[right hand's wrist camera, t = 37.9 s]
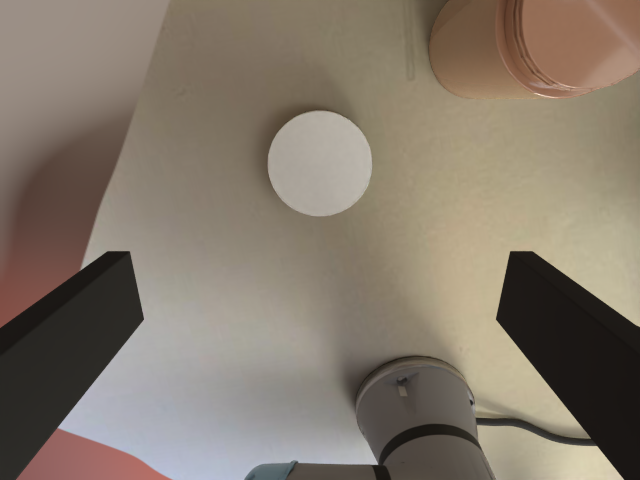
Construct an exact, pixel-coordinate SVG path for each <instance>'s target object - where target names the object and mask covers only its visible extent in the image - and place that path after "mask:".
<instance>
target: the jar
mask: <svg viewBox="0 0 640 480" xmlns="http://www.w3.org/2000/svg"><path fill="white" fill-rule="evenodd" d="M429 56H430V62H431V66H432V69H433V72H434V74H435V76H436V78H437V79H438V81H439V82H440V83H441V85H442V86H443V87H444V88H445V89H447V90H448V91H449V92H451V93H453V94H454V95H457V96H459V97H463V98H467V99H562V98H572V97H577V96H581V95H584V94H587V93H590V92H592V91H594V90H597V89H600V88H604V87H607V86H611V85H614V84H616V83H618V82H620V81H622V80H623V79H625V78H627V77H629V76H631V75H633V74H635V73H636V72H637V71H638V70H639V69H640V0H449V1H448V2H447V3H446V4H445V5H444V7H443V8H442V10H441V11H440V13H439V14H438V16H437V18H436V20H435V23H434V25H433V28H432V32H431V35H430V42H429Z"/></svg>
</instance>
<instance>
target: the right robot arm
mask: <svg viewBox="0 0 640 480" xmlns="http://www.w3.org/2000/svg"><path fill="white" fill-rule="evenodd" d="M143 320H144V317H143V312H142V307H141V303H140V298H139V293H138V288H137V283H136V279H135V274H134V269H133V264H132V260H131V255H130V251H107V252H106V253H105V254H103V255H102V256H100V257H99V258H98V259H96V260H95V261H93V262H92V263H91V264H89V265H88V266H86V267H85V268H84V269H82V270H81V271H79V272H78V273H77V274H75V275H74V276H72V277H71V278H70V279H68V280H67V281H66V282H64V283H63V284H61V285H60V286H58V287H57V288H56V289H54V290H53V291H51V292H50V293H49V294H47V295H46V296H44V297H43V298H42V299H40V300H39V301H37V302H36V303H35V304H33V305H32V306H30V307H29V308H28V309H26V310H25V311H23V312H22V313H21V314H19V315H18V316H16V317H15V318H14V319H12V320H11V321H9V322H8V323H7V324H5V325H4V326H2V327H1V328H0V480H16V479H17V477H18V476H19V475H20V474H21V472H22V471H23V470H24V469H25V467H26V466H27V465H28V464H29V462H30V461H31V460H32V459H33V457H34V456H35V455H36V454H37V452H38V451H39V450H40V449H41V447H42V446H43V445H44V444H45V442H46V441H47V440H48V439H49V437H50V436H51V435H52V434H53V432H54V431H55V430H56V429H57V427H58V426H59V425H60V424H61V422H62V421H63V420H64V419H65V417H66V416H67V415H68V414H69V412H70V411H71V410H72V409H73V407H74V406H75V405H76V404H77V402H78V401H79V400H80V399H81V397H82V396H83V395H84V394H85V392H86V391H87V390H88V389H89V387H90V386H91V385H92V384H93V382H94V381H95V380H96V379H97V378H98V376H99V375H100V374H101V373H102V371H103V370H104V369H105V368H106V366H107V365H108V364H109V363H110V361H111V360H112V359H113V358H114V356H115V355H116V354H117V353H118V351H119V350H120V349H121V348H122V346H123V345H124V344H125V343H126V341H127V340H128V339H129V338H130V336H131V335H132V334H133V333H134V331H135V330H136V329H137V328H138V326H139V325H140V324H141V323H142V321H143ZM496 320H497V321H498V323H499V324H500V325H501V326H502V328H503V329H504V330H505V331H506V333H507V334H508V335H509V336H510V338H511V339H512V340H513V341H514V343H515V344H516V345H517V346H518V348H519V349H520V350H521V351H522V353H523V354H524V355H525V356H526V358H527V359H528V360H529V361H530V363H531V364H532V365H533V366H534V368H535V369H536V370H537V371H538V373H539V374H540V375H541V376H542V378H543V379H544V380H545V381H546V383H547V384H548V385H549V386H550V387H551V389H552V390H553V391H554V392H555V394H556V395H557V396H558V397H559V399H560V400H561V401H562V402H563V404H564V405H565V406H566V407H567V409H568V410H569V411H570V412H571V414H572V415H573V416H574V417H575V419H576V420H577V421H578V422H579V424H580V425H581V426H582V427H583V429H584V430H585V431H586V432H587V434H588V435H589V436H590V437H591V439H582V438H570V437H564V436H559V435H555V434H552V433H549V432H546V431H544V430H542V429H540V428H538V427H536V426H533V425H531V424H529V423H526V422H523V421H520V420H516V419H508V418H500V419H492V418H475V402H474V397H473V395H472V392H471V390H470V388H469V386H468V384H467V382H466V381H465V379H464V377H463V376H462V375H461V374H460V373H459V371H457V370H456V369H455V368H454V367H452V366H451V365H449V364H447V363H445V362H443V361H440V360H437V359H433V358H427V357H408V358H402V359H398V360H395V361H392V362H389V363H387V364H385V365H383V366H381V367H379V368H378V369H376V370H375V371H374V372H372V373H371V374H370V375H369V376H368V377H367V378H366V379H365V380H364V382H363V383H362V385H361V386H360V388H359V390H358V393H357V396H356V402H355V407H356V415H357V422H358V426H359V428H360V431H361V432H362V434H363V436H364V438H365V439H366V440H367V442H368V444H369V446H370V448H371V450H372V452H373V454H374V456H375V458H376V460H377V463H378V465H345V464H309V463H298V461H292V462H291V463H276V464H262V465H259V466H257V467H255V468H254V469H253V470H251V471H250V473H249V474H248V475H247V476H246V478H245V479H244V480H496V478H495V476H494V474H493V472H492V470H491V468H490V466H489V464H488V461H487V459H486V457H485V455H484V453H483V451H482V449H481V447H480V444H479V442H478V433H477V425H486V426H515V427H520V428H523V429H526V430H528V431H531V432H533V433H535V434H537V435H539V436H541V437H544V438H546V439H549V440H551V441H555V442H559V443H564V444H570V445H580V446H598V447H599V449H600V450H601V451H602V452H603V454H604V455H605V456H606V457H607V459H608V460H609V461H610V462H611V464H612V465H613V466H614V467H615V469H616V470H617V471H618V472H619V474H620V475H621V476H622V477H623V479H624V480H640V327H639V326H636V325H635V324H633V323H632V322H631V321H629V320H628V319H626V318H625V317H624V316H622V315H621V314H619V313H618V312H617V311H615V310H614V309H612V308H611V307H610V306H608V305H607V304H605V303H604V302H603V301H601V300H600V299H598V298H597V297H596V296H594V295H593V294H591V293H590V292H589V291H587V290H586V289H584V288H583V287H582V286H580V285H579V284H577V283H576V282H575V281H573V280H572V279H570V278H569V277H568V276H566V275H565V274H563V273H562V272H561V271H559V270H558V269H556V268H555V267H554V266H552V265H551V264H549V263H548V262H547V261H545V260H544V259H542V258H541V257H540V256H538V255H537V254H535V253H534V252H533V251H510V255H509V260H508V264H507V269H506V274H505V279H504V283H503V288H502V293H501V298H500V303H499V307H498V312H497V317H496Z"/></svg>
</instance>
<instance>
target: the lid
mask: <svg viewBox="0 0 640 480" xmlns="http://www.w3.org/2000/svg"><path fill="white" fill-rule="evenodd" d="M271 143H272V144H271V147H270V150H269V152H268V153H269V154H268V163H267V164H268V173H269V177H270V181H271V183H272V186H273V188H274V190H275V191H276V193H277V195H278V196H279V197H280V198H281V199H282V200H283V201H284V202H285V203H286V204H287V205H288V206H289V207H291V208H292V209H294V210H296V211H298V212H300V213H303V214H306V215H310V216H330V215H334V214H337V213H340V212H342V211H344V210H346V209H348V208H349V207H350V206H352V205H353V204H354V203H355V202H356V201H357V200H358V199H359V198H360V197H361V196H362V194H363V193H364V191H365V190H366V188H367V186H368V183H369V181H370V178H371V173H372V155H371V150H370V147H369V146H370V145H369V144H368V142H367V140H366V138H365V135H364V134H363V133H362V132H361V130H360V129H359V128H358V126H357V125H355V124H354V123H353V122H351V121H350V120H349V118H345V117H344V116H342V115H340V114H339V113H334V112H331V111H328V110H327V111H324V110H316V111H310V112H304V113H303V114H300V115H298V116H294V118H293V119H291V120H290V121H289V122H286V123H285V125H284V126H283V127H282V128H281V129H280V130H279V131H278V132H277V134H276V136H275V138H274V140H273V141H272V142H271Z"/></svg>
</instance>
